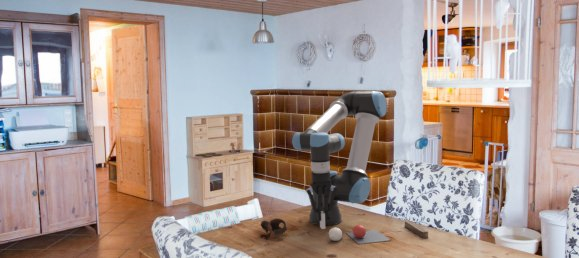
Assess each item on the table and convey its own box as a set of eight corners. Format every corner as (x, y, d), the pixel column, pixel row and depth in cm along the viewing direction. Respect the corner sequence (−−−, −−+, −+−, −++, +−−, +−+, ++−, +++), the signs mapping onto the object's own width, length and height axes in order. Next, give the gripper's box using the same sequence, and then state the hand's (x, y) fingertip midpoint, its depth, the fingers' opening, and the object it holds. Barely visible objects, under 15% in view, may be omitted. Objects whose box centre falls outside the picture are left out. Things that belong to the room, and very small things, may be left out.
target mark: (358, 244, 190) (358, 243, 190) (346, 233, 204) (346, 233, 204) (390, 240, 193) (390, 240, 193) (376, 230, 207) (376, 229, 207)
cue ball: (340, 223, 195) (345, 235, 196) (328, 226, 198) (333, 237, 199) (337, 230, 191) (342, 242, 192) (325, 232, 193) (329, 244, 194)
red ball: (355, 220, 198) (366, 223, 199) (349, 229, 200) (361, 232, 202) (357, 230, 193) (369, 233, 194) (351, 239, 196) (363, 242, 197)
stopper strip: (422, 238, 196) (422, 232, 195) (404, 226, 211) (404, 221, 211) (428, 237, 196) (428, 231, 196) (409, 226, 212) (409, 220, 211)
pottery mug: (289, 232, 208) (290, 219, 203) (281, 248, 201) (283, 235, 196) (263, 224, 211) (264, 211, 206) (255, 239, 204) (256, 226, 199)
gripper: (307, 174, 186) (309, 232, 189) (339, 171, 189) (340, 228, 192) (302, 170, 193) (304, 226, 196) (333, 167, 196) (334, 223, 199)
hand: (322, 227), depth 194 cm, fingers closed
